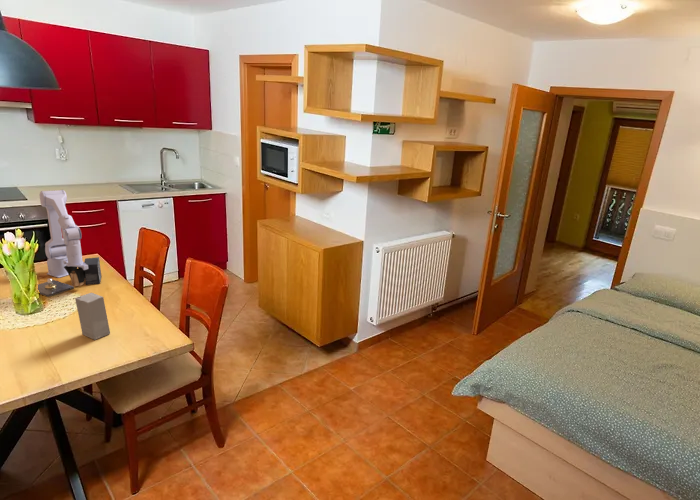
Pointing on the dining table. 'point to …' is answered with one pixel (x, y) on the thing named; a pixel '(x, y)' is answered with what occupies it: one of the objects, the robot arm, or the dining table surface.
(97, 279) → the small box
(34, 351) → the dining table surface
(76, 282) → the brown hollow prism
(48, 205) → the robot arm
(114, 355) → the dining table surface
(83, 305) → the skincare box
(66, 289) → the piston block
